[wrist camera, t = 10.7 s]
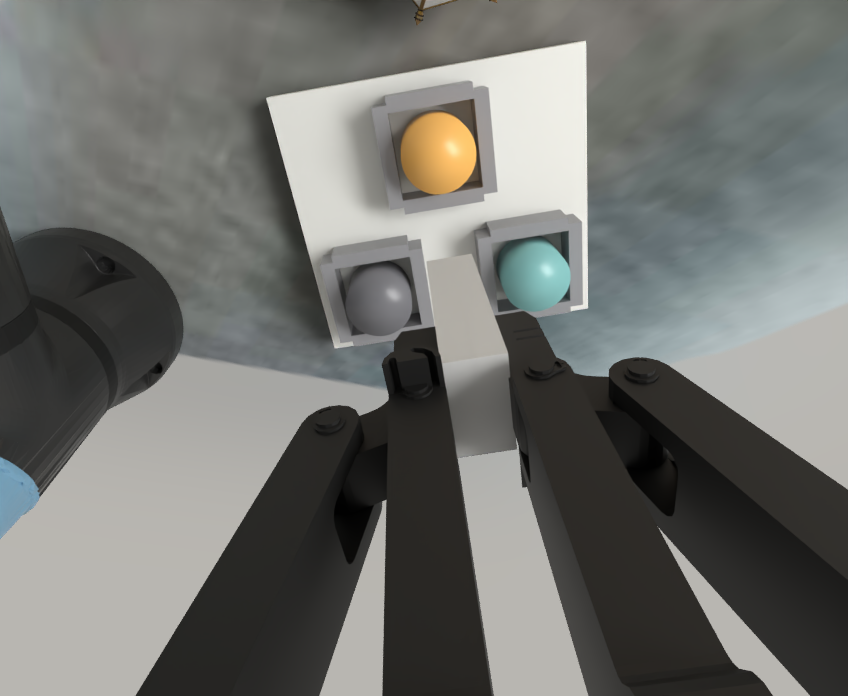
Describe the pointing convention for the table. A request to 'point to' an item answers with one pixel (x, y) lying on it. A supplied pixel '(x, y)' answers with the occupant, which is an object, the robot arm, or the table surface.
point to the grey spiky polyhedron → (429, 6)
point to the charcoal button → (379, 298)
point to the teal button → (532, 273)
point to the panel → (452, 212)
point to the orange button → (437, 152)
